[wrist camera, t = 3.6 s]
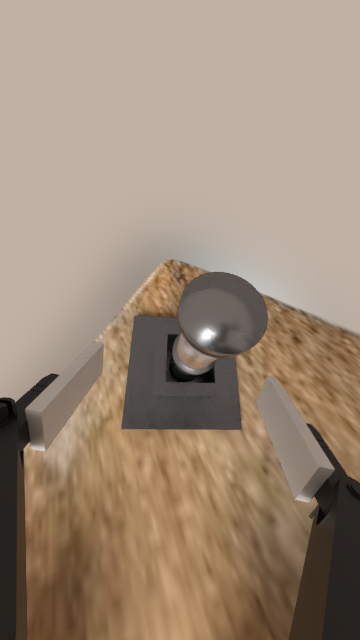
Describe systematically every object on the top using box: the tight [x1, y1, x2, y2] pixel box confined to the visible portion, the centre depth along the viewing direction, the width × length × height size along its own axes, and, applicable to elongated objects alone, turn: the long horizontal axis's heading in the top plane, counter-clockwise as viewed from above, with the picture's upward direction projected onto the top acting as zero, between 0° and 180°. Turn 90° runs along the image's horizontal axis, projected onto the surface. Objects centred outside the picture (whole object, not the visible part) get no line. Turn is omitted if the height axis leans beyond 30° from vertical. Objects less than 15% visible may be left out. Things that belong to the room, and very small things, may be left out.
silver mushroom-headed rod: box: [169, 272, 268, 382], centre depth 21 cm, size 5×5×22 cm
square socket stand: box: [121, 316, 242, 430], centre depth 28 cm, size 18×18×11 cm
